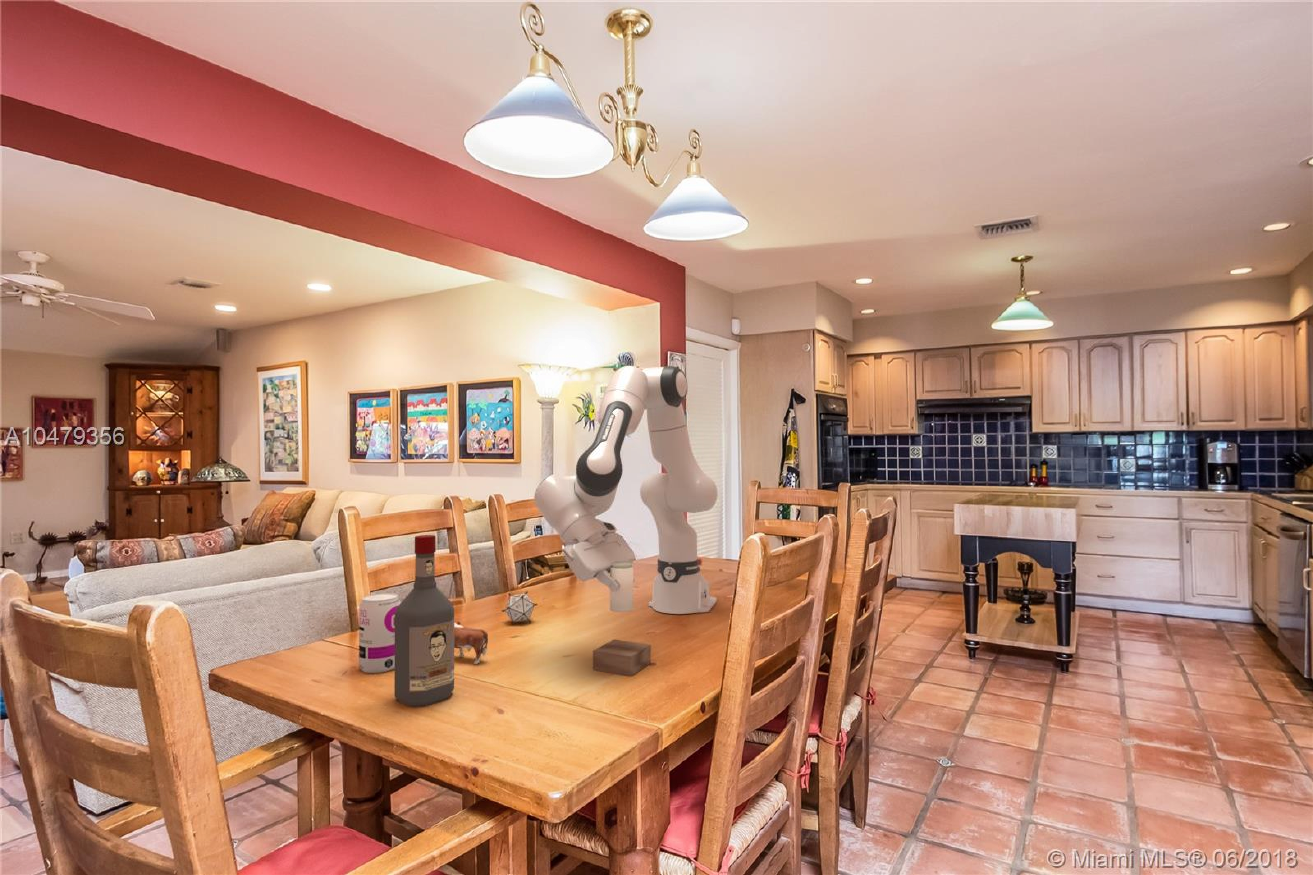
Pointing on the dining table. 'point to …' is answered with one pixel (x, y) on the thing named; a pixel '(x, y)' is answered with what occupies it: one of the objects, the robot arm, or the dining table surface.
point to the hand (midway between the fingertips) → (624, 586)
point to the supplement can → (377, 632)
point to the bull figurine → (470, 640)
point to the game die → (519, 607)
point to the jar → (622, 587)
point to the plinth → (622, 657)
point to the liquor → (424, 635)
